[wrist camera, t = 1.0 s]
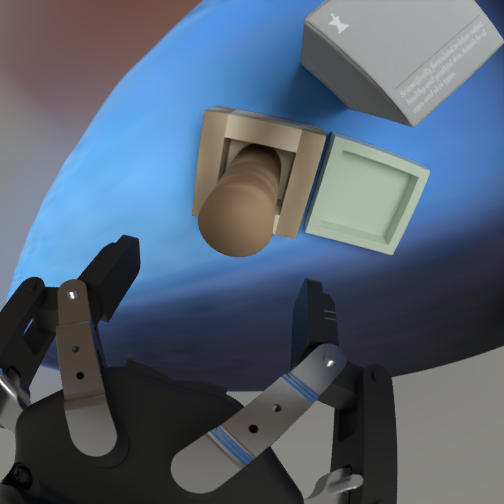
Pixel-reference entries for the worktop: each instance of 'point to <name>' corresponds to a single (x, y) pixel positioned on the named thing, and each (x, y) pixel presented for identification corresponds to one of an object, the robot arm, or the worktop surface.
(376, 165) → the tray
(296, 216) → the pocket block
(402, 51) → the skincare box
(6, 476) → the robot arm
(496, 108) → the worktop surface
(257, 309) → the worktop surface
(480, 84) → the worktop surface
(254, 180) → the dowel
